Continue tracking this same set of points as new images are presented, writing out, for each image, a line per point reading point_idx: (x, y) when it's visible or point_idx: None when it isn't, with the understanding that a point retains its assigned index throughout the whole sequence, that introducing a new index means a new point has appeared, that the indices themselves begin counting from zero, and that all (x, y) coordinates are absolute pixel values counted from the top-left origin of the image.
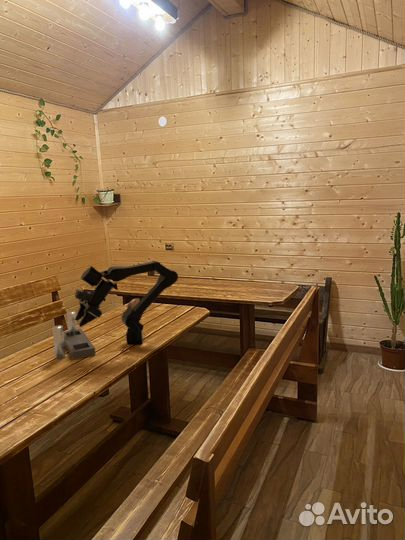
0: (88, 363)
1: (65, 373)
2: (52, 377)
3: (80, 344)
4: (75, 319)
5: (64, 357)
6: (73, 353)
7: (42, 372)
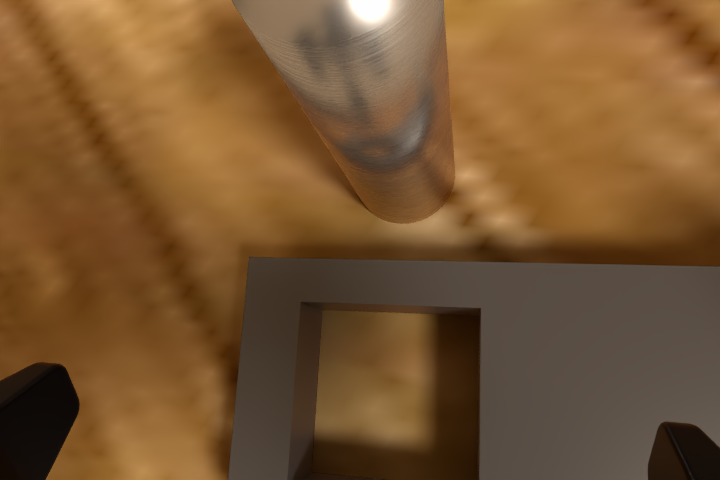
0: (98, 376)
1: (41, 161)
2: (41, 69)
3: (479, 412)
4: (658, 430)
5: (364, 204)
6: (253, 270)
7: (171, 10)
